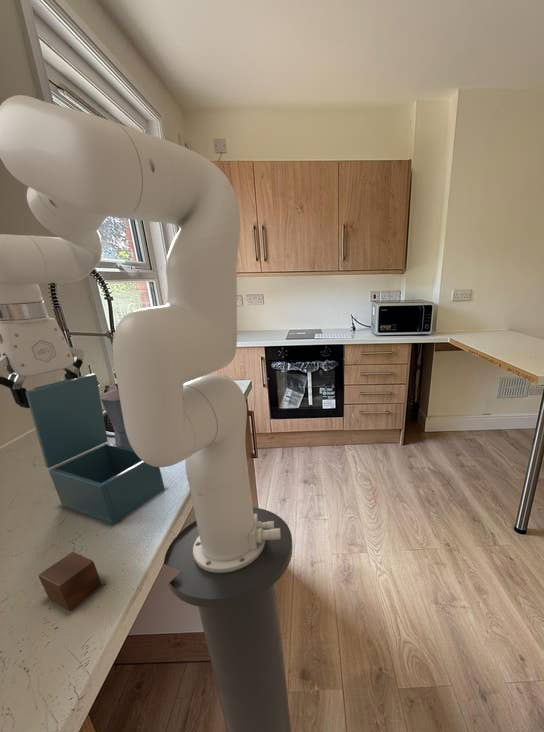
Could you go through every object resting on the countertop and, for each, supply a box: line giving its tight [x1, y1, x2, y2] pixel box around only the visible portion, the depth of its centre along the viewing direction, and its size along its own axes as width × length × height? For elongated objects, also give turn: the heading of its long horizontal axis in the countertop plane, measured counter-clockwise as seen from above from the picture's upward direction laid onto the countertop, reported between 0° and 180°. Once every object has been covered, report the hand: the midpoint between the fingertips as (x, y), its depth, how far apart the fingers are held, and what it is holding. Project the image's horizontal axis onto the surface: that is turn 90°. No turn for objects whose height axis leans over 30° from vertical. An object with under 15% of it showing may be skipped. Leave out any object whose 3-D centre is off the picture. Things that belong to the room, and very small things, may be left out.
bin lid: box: [26, 373, 108, 469], centre depth 72 cm, size 17×13×5 cm
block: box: [37, 551, 103, 612], centre depth 52 cm, size 5×5×5 cm
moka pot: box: [100, 383, 132, 449], centre depth 91 cm, size 10×15×20 cm, turn 60°
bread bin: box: [48, 442, 165, 526], centre depth 74 cm, size 16×13×9 cm
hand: (52, 398), depth 72 cm, fingers open, 9 cm apart
